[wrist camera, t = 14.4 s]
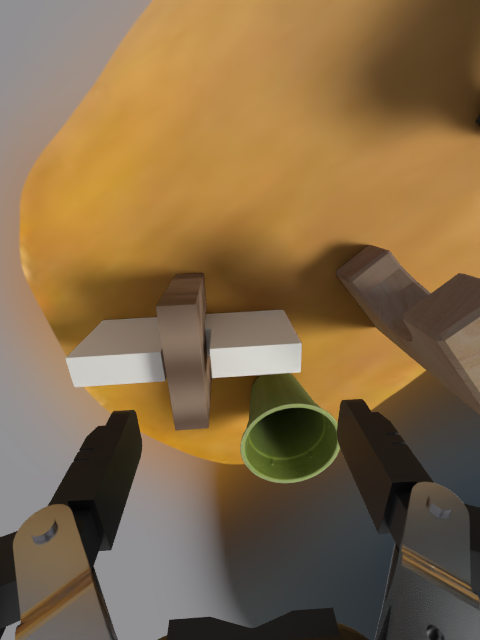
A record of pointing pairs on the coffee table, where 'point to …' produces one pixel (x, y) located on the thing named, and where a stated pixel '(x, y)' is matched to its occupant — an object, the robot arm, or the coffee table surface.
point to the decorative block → (422, 318)
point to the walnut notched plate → (186, 350)
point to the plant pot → (287, 431)
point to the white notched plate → (221, 338)
